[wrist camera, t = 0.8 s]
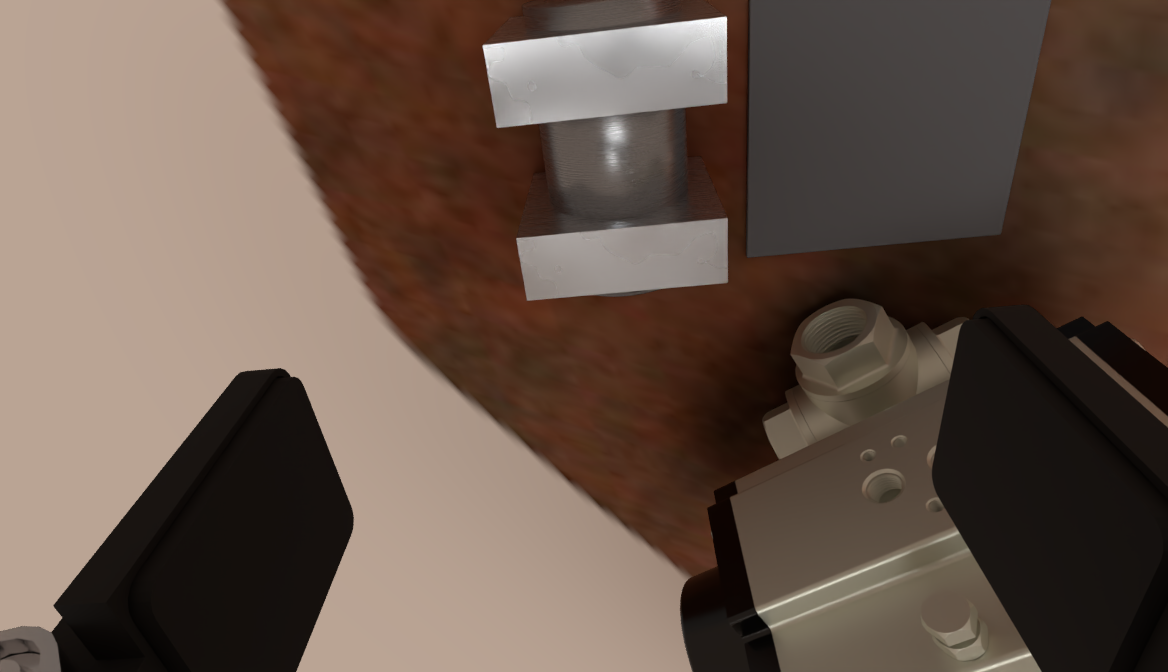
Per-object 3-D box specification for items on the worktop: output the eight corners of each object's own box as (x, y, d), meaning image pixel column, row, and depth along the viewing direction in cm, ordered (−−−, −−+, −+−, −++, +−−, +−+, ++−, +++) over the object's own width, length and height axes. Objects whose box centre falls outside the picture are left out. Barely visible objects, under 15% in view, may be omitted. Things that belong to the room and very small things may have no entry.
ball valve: (1029, 179, 26) (1610, 523, 11) (1089, 334, 30) (1594, 758, 15) (638, 393, 32) (672, 816, 17) (727, 503, 36) (821, 935, 20)
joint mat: (997, 231, 28) (1000, 234, 27) (746, 254, 28) (747, 257, 28) (1057, -52, 22) (1062, -52, 22) (748, -15, 23) (750, -14, 23)
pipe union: (702, 224, 28) (727, 299, 22) (544, 239, 28) (529, 316, 23) (696, -25, 23) (726, -9, 18) (507, -2, 24) (478, 21, 18)
